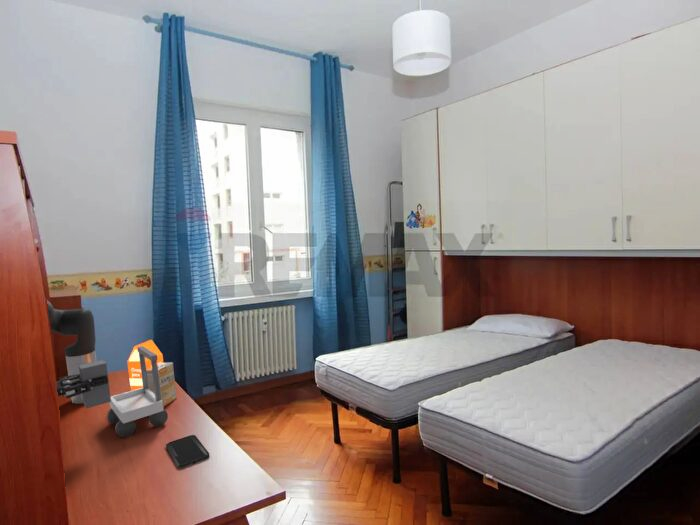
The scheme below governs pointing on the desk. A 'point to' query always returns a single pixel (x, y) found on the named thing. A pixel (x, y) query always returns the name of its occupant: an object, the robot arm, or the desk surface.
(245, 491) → the desk surface
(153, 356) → the trolley
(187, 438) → the phone
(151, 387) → the supplement box
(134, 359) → the orange juice
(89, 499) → the desk surface
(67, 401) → the desk surface
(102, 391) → the block
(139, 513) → the desk surface
